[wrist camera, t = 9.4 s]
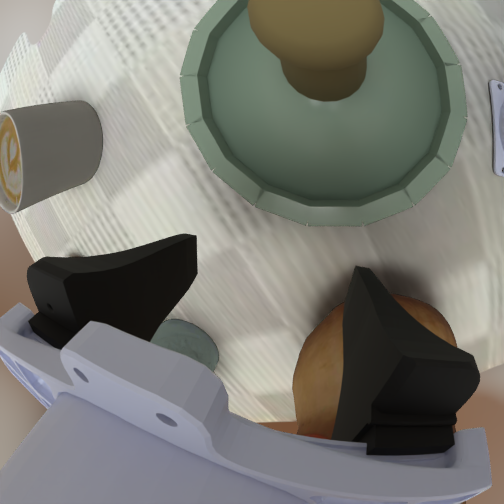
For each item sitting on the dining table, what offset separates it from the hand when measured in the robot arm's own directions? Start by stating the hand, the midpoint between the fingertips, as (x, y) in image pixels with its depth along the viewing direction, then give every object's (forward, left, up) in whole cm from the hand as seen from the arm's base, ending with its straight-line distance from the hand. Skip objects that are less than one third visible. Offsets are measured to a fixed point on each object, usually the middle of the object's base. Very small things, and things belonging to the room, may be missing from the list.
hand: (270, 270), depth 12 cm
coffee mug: (+25, -9, -11) cm, 29 cm away
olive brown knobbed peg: (-3, -11, -10) cm, 15 cm away
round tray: (-3, -9, -10) cm, 14 cm away
